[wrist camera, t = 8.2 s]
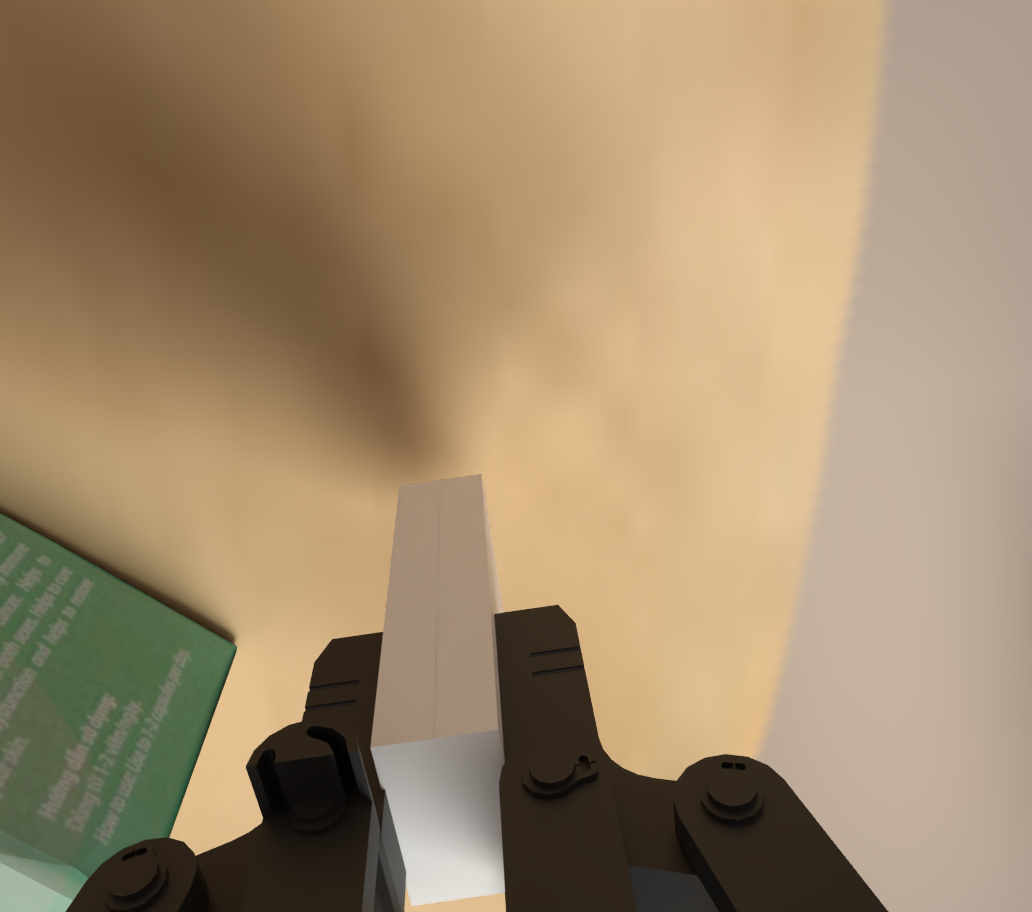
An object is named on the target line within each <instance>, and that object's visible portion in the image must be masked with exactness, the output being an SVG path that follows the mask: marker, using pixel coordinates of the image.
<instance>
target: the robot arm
mask: <svg viewBox="0 0 1032 912" xmlns="http://www.w3.org/2000/svg"><path fill="white" fill-rule="evenodd" d="M309 688H310V692H308V695H307V700H306V705H305V710H306V711H305V712H304V714H303V719H302V722H299V723H295V724H291V725H288V726H286V727H285V728H283V729H281V730H279V731H277V732H276V733H274V734H272V735H270V736H269V737H268V738H267V739H266V740H265V741H264V742H263V743H262V744H260V745H259V746H258V747H257V748H256V749H255V750H254V752H253V754H252V756H251V758H250V760H249V761H248V763H247V765H246V769H247V772H248V775H249V778H250V781H251V784H252V787H253V790H254V792H255V795H256V798H257V801H258V804H259V807H260V810H261V813H262V816H263V821H262V823H261V824H260V825H259V826H257V827H256V828H254V829H253V830H252V831H250V832H249V833H247V834H245V835H243V836H241V837H239V838H237V839H235V840H233V841H231V842H228V843H226V844H223V845H221V846H218V847H216V848H214V849H211V850H209V851H206V852H204V853H201V854H199V855H196V856H195V854H194V852H193V851H192V850H191V849H190V848H189V847H188V846H187V845H186V844H185V843H184V842H182V841H178V840H175V839H171V838H167V837H165V838H156V839H147V840H143V841H141V842H138V843H136V844H133V845H131V846H128V847H126V848H123V849H122V850H120V851H119V852H117V853H116V854H115V855H113V856H112V857H110V858H109V859H107V860H106V861H105V862H103V863H102V864H101V865H100V866H99V867H98V868H97V870H96V871H95V872H94V873H93V874H92V875H91V876H90V877H89V878H88V880H87V881H86V882H85V883H84V885H83V886H82V888H81V889H80V891H79V892H78V894H77V895H76V897H75V898H74V900H73V901H72V903H71V904H70V906H69V907H68V909H67V910H66V912H404V904H405V885H406V886H407V890H408V894H409V898H410V902H411V905H412V906H416V905H423V904H430V903H437V902H444V901H451V900H458V899H465V898H472V897H479V896H486V895H493V894H500V893H505V900H506V912H888V911H887V910H886V908H885V907H884V906H883V904H882V903H881V902H880V901H879V899H878V898H877V897H876V896H875V894H874V893H873V892H872V890H871V889H870V888H869V887H868V886H867V884H866V883H865V882H864V880H863V879H862V878H861V877H860V875H859V874H858V873H857V871H856V870H855V869H854V868H853V866H852V865H851V864H850V863H849V861H848V860H847V859H846V858H845V856H844V855H843V854H842V852H841V851H840V850H839V849H838V847H837V846H836V845H835V844H834V842H833V841H832V840H831V838H830V837H829V836H828V835H827V833H826V832H825V831H824V830H823V828H822V827H821V826H820V825H819V823H818V822H817V821H816V819H815V818H814V817H813V816H812V814H811V813H810V812H809V811H808V809H807V808H806V807H805V806H804V804H803V803H802V802H801V800H800V799H799V798H798V797H797V795H796V794H795V793H794V791H793V790H792V789H791V788H790V787H789V785H788V784H787V783H786V781H785V780H784V779H783V778H782V777H781V776H780V775H778V774H777V773H776V772H775V771H774V770H773V769H772V768H770V767H769V766H768V765H766V764H763V763H761V762H759V761H756V760H754V759H752V758H749V757H744V756H736V755H727V754H725V755H719V756H713V757H707V758H704V759H702V760H700V761H698V762H696V763H694V764H693V765H691V766H689V767H687V768H686V770H685V771H684V772H683V773H682V775H681V776H680V777H679V778H678V780H677V781H673V780H664V779H656V778H651V777H646V776H642V775H637V774H635V773H633V772H631V771H628V770H626V769H624V768H622V767H621V766H619V765H618V764H617V763H615V762H614V761H613V760H611V759H610V757H609V756H608V755H607V753H606V752H605V751H604V750H603V748H602V745H601V743H600V740H599V737H598V732H597V727H596V722H595V717H594V712H593V707H592V702H591V698H590V693H589V688H588V683H587V678H586V673H585V669H584V663H583V658H582V653H581V649H580V643H579V638H578V633H577V628H576V623H575V622H574V621H573V620H572V619H571V618H570V617H569V616H568V615H567V614H566V613H565V612H564V611H563V610H562V609H561V607H560V606H559V605H554V606H547V607H540V608H533V609H526V610H519V611H512V612H505V613H503V609H502V597H501V591H500V585H499V579H498V573H497V566H496V560H495V554H494V548H493V542H492V535H491V529H490V523H489V517H488V511H487V504H486V498H485V492H484V486H483V480H482V474H478V475H471V476H464V477H457V478H450V479H443V480H436V481H429V482H422V483H415V484H408V485H401V486H399V494H398V503H397V512H396V521H395V530H394V539H393V548H392V557H391V566H390V575H389V585H388V594H387V603H386V612H385V621H384V630H383V632H380V633H373V634H365V635H358V636H351V637H344V638H337V639H332V640H331V642H330V643H329V644H328V645H327V647H326V648H325V649H324V651H323V652H322V653H321V655H320V656H319V657H318V659H317V660H316V661H315V662H314V667H313V672H312V676H311V681H310V686H309Z"/></svg>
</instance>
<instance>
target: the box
mask: <svg viewBox="0 0 1032 912" xmlns="http://www.w3.org/2000/svg"><path fill="white" fill-rule="evenodd" d="M236 651H237V646H236V645H234V644H232V643H231V642H229V641H227V640H225V639H224V638H222V637H220V636H218V635H216V634H215V633H213V632H211V631H209V630H208V629H206V628H204V627H202V626H201V625H199V624H197V623H195V622H194V621H192V620H190V619H188V618H187V617H185V616H183V615H181V614H180V613H178V612H176V611H174V610H173V609H171V608H169V607H167V606H166V605H164V604H162V603H160V602H159V601H157V600H155V599H153V598H152V597H150V596H148V595H146V594H145V593H143V592H141V591H140V590H138V589H136V588H134V587H133V586H131V585H129V584H127V583H125V582H124V581H122V580H120V579H118V578H117V577H115V576H113V575H111V574H110V573H108V572H106V571H104V570H103V569H101V568H99V567H97V566H96V565H94V564H92V563H90V562H89V561H87V560H85V559H83V558H81V557H80V556H78V555H76V554H74V553H73V552H71V551H69V550H67V549H66V548H64V547H62V546H60V545H59V544H57V543H55V542H53V541H51V540H50V539H48V538H46V537H44V536H42V535H40V534H38V533H36V532H35V531H33V530H31V529H29V528H27V527H25V526H23V525H22V524H20V523H18V522H16V521H14V520H12V519H10V518H8V517H7V516H5V515H3V514H1V513H0V912H66V910H67V909H68V907H69V906H70V904H71V903H72V901H73V900H74V898H75V897H76V895H77V894H78V892H79V891H80V889H81V888H82V886H83V885H84V883H85V882H86V881H87V880H88V878H89V877H90V876H91V875H92V874H93V873H94V872H95V871H96V870H97V868H98V867H99V866H100V865H101V864H102V863H103V862H105V861H106V860H107V859H109V858H110V857H112V856H113V855H115V854H116V853H117V852H119V851H120V850H122V849H123V848H126V847H128V846H131V845H133V844H136V843H138V842H141V841H143V840H147V839H156V838H165V837H167V838H169V837H170V834H171V831H172V828H173V826H174V823H175V820H176V817H177V814H178V812H179V809H180V806H181V803H182V801H183V798H184V795H185V792H186V790H187V787H188V784H189V781H190V779H191V776H192V773H193V770H194V767H195V765H196V762H197V759H198V756H199V754H200V751H201V748H202V745H203V743H204V740H205V737H206V734H207V732H208V729H209V726H210V723H211V720H212V718H213V715H214V712H215V709H216V707H217V704H218V701H219V698H220V696H221V693H222V690H223V687H224V685H225V682H226V679H227V676H228V673H229V671H230V668H231V665H232V662H233V659H234V657H235V654H236Z"/></svg>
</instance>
